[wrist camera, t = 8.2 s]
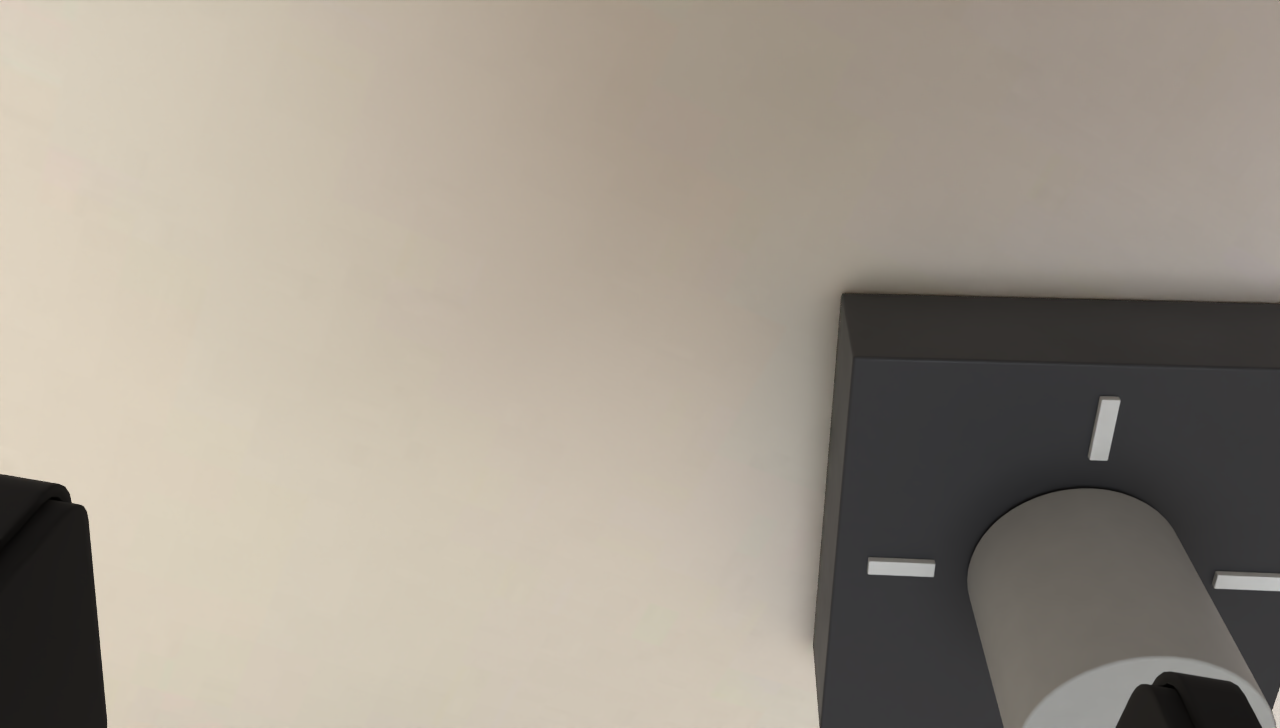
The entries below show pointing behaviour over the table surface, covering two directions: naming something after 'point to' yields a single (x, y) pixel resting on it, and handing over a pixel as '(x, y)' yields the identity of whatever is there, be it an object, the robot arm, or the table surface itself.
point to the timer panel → (1031, 474)
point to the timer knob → (1093, 611)
